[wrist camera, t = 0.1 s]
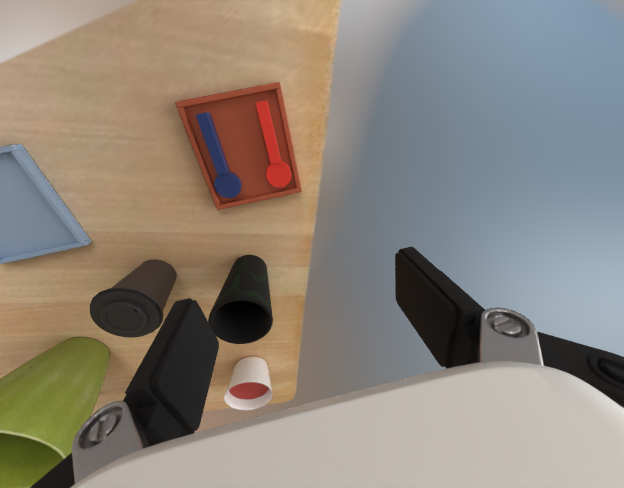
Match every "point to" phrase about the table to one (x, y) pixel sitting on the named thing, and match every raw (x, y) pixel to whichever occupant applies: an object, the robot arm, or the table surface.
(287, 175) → the red spoon
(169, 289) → the coffee cup
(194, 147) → the red tray
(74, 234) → the blue tray
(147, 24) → the table surface
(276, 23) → the table surface
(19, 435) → the flower pot
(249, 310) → the cup
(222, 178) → the blue spoon
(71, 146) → the table surface
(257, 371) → the candle
